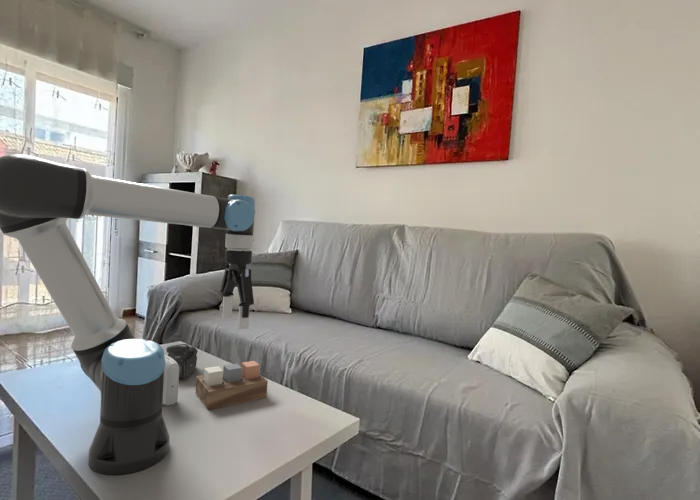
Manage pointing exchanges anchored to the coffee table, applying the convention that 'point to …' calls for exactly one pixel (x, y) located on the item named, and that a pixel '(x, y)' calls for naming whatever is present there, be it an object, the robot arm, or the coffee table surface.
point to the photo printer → (170, 381)
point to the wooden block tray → (230, 391)
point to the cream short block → (213, 376)
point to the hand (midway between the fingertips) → (234, 323)
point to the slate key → (232, 373)
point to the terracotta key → (250, 370)
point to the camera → (183, 358)
